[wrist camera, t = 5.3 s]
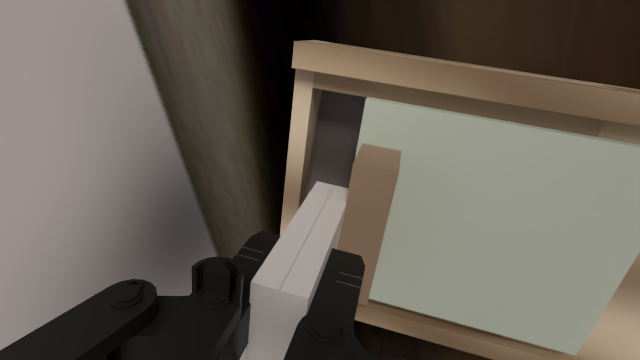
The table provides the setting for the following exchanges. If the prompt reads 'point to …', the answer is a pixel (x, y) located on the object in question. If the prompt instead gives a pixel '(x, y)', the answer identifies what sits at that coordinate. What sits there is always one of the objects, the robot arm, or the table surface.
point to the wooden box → (463, 97)
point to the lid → (491, 221)
